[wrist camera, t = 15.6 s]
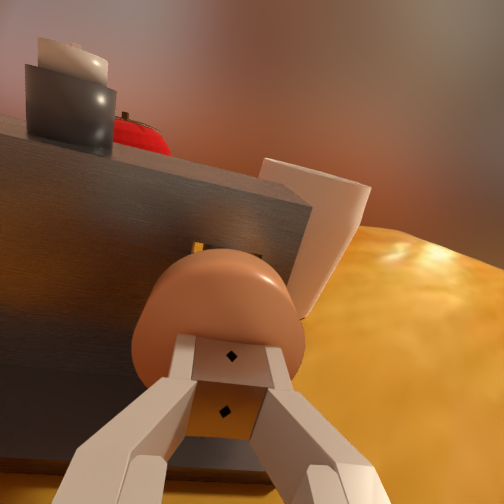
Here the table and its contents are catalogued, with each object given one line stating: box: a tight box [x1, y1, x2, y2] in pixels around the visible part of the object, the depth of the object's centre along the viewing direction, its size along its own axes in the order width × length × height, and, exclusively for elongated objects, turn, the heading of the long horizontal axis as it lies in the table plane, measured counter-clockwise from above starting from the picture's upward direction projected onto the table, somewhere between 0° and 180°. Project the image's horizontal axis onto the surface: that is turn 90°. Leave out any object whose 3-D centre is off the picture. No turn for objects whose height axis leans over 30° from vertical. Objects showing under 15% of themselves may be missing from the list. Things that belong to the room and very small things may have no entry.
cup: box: [258, 158, 371, 319], centre depth 25 cm, size 9×9×12 cm
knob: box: [131, 244, 305, 388], centre depth 13 cm, size 9×5×5 cm, turn 6°
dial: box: [25, 38, 117, 149], centre depth 12 cm, size 3×3×4 cm
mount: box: [0, 114, 313, 484], centre depth 13 cm, size 10×23×11 cm, turn 96°
